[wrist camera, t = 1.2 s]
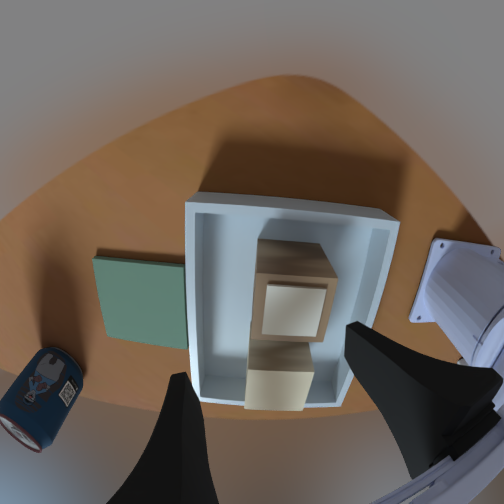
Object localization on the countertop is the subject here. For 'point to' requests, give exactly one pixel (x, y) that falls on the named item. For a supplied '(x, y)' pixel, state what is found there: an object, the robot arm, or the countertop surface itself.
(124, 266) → the mat
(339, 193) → the countertop surface
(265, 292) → the brown wooden block
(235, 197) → the bin
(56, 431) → the soda can
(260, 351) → the birch block
